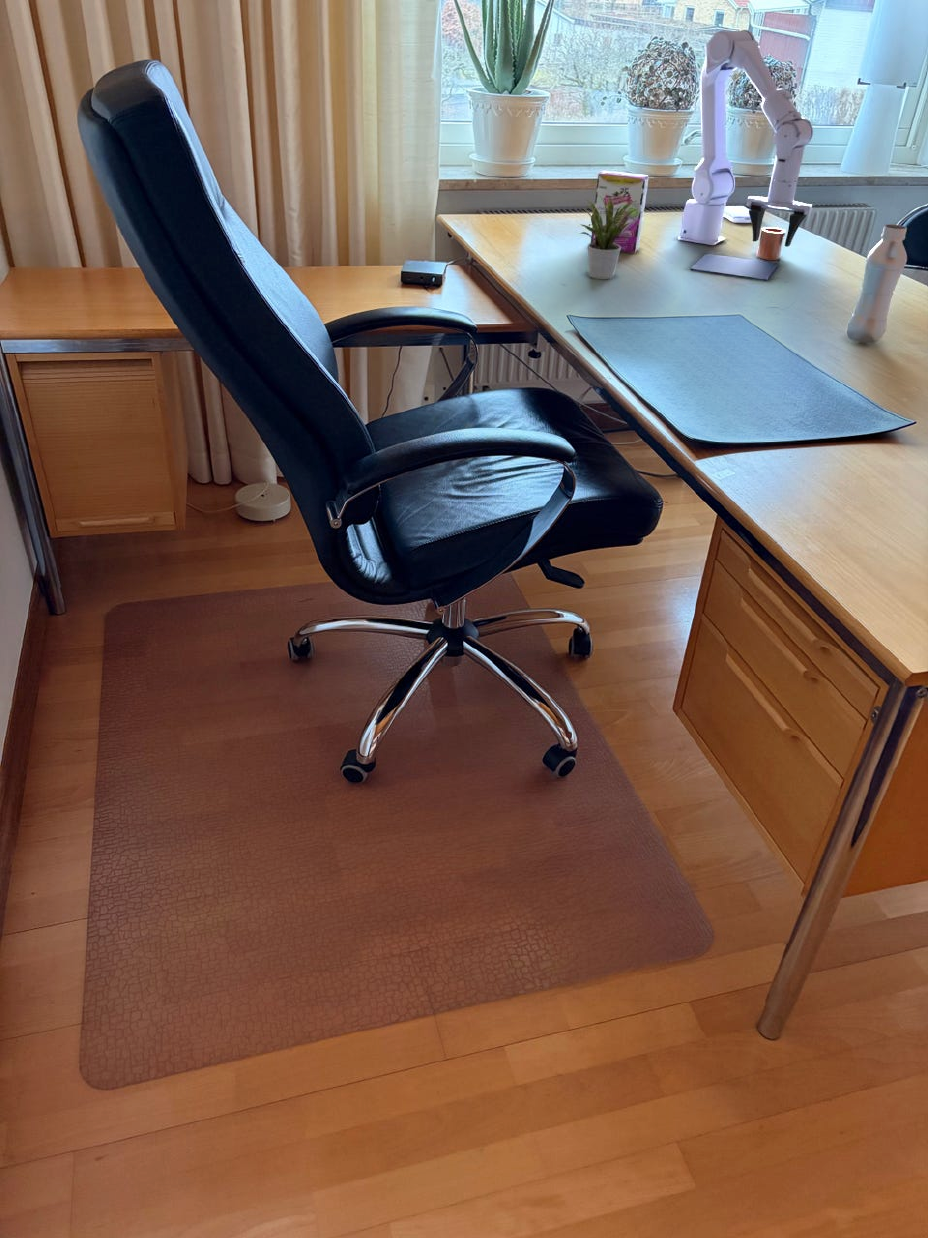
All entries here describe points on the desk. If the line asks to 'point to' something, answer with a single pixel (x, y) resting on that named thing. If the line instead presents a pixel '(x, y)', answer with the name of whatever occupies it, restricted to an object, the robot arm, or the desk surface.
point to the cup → (770, 243)
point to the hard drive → (737, 214)
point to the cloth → (735, 267)
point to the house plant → (605, 240)
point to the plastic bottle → (878, 286)
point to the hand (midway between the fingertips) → (771, 242)
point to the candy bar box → (620, 193)
